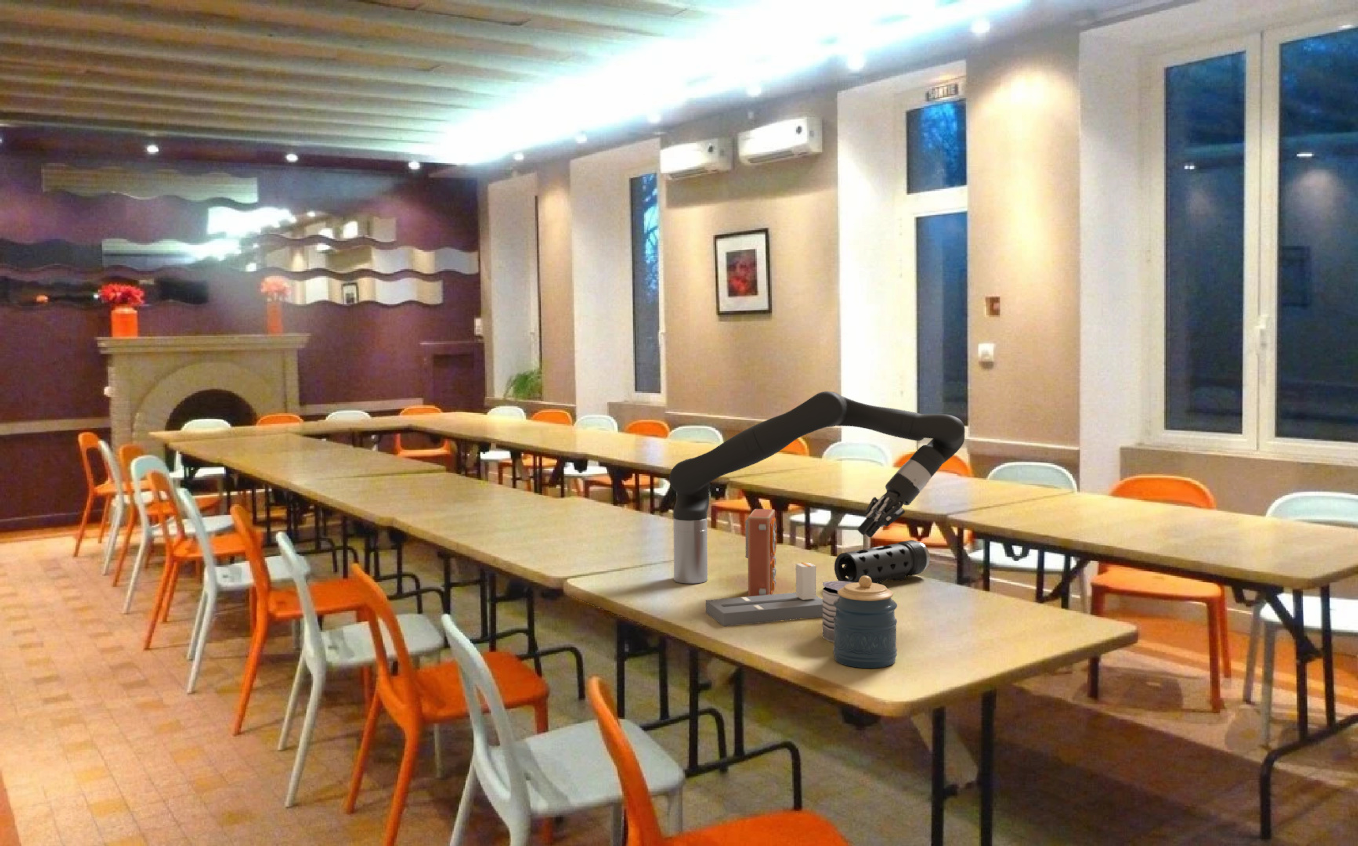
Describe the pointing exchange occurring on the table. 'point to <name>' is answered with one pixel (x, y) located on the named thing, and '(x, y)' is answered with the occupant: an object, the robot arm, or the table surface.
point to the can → (830, 606)
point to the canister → (865, 625)
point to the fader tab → (806, 581)
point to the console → (763, 609)
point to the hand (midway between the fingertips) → (863, 533)
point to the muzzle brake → (883, 562)
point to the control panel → (761, 551)
